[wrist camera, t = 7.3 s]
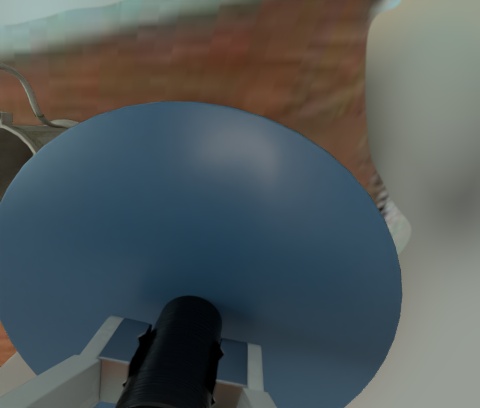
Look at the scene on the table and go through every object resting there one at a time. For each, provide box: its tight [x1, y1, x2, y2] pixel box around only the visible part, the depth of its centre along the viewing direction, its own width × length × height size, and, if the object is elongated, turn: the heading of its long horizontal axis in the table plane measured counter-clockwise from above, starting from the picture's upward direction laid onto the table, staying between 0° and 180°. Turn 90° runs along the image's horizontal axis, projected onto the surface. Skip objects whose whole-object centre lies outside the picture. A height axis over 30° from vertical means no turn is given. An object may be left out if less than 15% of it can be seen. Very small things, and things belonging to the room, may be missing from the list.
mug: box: [0, 63, 79, 202], centre depth 26 cm, size 14×10×12 cm
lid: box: [0, 101, 402, 408], centre depth 8 cm, size 17×17×5 cm
